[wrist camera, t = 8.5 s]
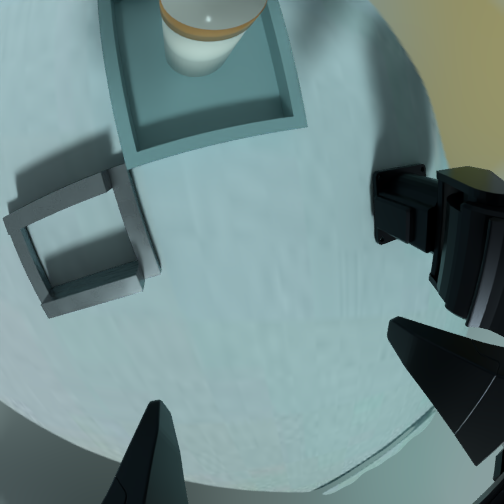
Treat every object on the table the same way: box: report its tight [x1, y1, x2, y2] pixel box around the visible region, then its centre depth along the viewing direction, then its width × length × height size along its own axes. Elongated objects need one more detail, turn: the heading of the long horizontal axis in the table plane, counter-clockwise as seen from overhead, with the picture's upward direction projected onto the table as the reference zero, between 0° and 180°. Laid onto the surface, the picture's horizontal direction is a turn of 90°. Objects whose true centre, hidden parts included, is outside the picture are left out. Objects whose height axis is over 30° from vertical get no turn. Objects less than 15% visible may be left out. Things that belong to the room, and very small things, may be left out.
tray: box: [98, 0, 308, 170], centre depth 13 cm, size 11×13×2 cm
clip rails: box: [3, 163, 161, 318], centre depth 16 cm, size 10×8×2 cm
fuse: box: [159, 0, 267, 77], centre depth 10 cm, size 4×4×8 cm
